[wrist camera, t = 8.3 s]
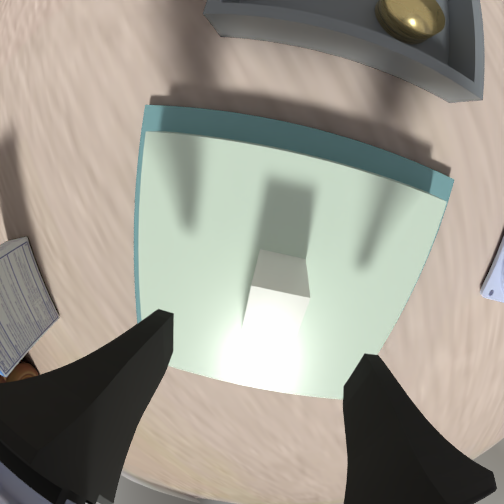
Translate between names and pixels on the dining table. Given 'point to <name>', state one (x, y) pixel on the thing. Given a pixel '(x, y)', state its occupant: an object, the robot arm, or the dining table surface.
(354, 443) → the robot arm
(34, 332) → the medicine box
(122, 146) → the dining table surface
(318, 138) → the mat
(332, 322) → the lid
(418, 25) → the bowl
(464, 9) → the tub
